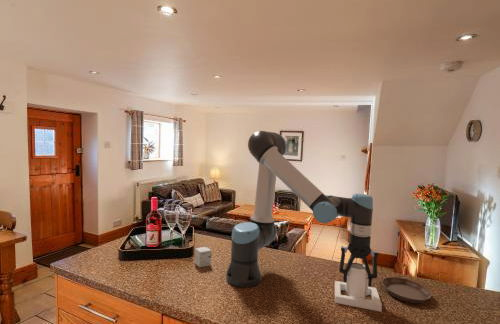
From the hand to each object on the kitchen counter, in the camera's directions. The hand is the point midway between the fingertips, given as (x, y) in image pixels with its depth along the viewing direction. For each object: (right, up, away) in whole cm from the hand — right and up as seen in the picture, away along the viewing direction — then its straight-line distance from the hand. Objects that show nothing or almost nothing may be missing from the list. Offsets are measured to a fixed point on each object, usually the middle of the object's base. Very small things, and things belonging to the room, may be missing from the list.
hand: (356, 292), depth 106 cm
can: (0, -2, 0) cm, 2 cm away
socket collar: (0, -2, 0) cm, 2 cm away
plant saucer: (+22, -4, +5) cm, 23 cm away
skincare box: (-65, +1, +25) cm, 69 cm away
